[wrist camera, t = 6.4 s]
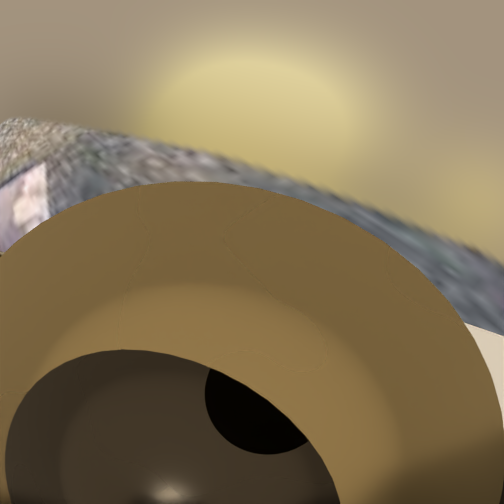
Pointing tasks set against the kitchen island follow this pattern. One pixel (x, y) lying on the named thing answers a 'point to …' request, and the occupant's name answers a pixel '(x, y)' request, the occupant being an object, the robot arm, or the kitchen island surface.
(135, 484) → the brass bushing
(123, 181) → the kitchen island surface
